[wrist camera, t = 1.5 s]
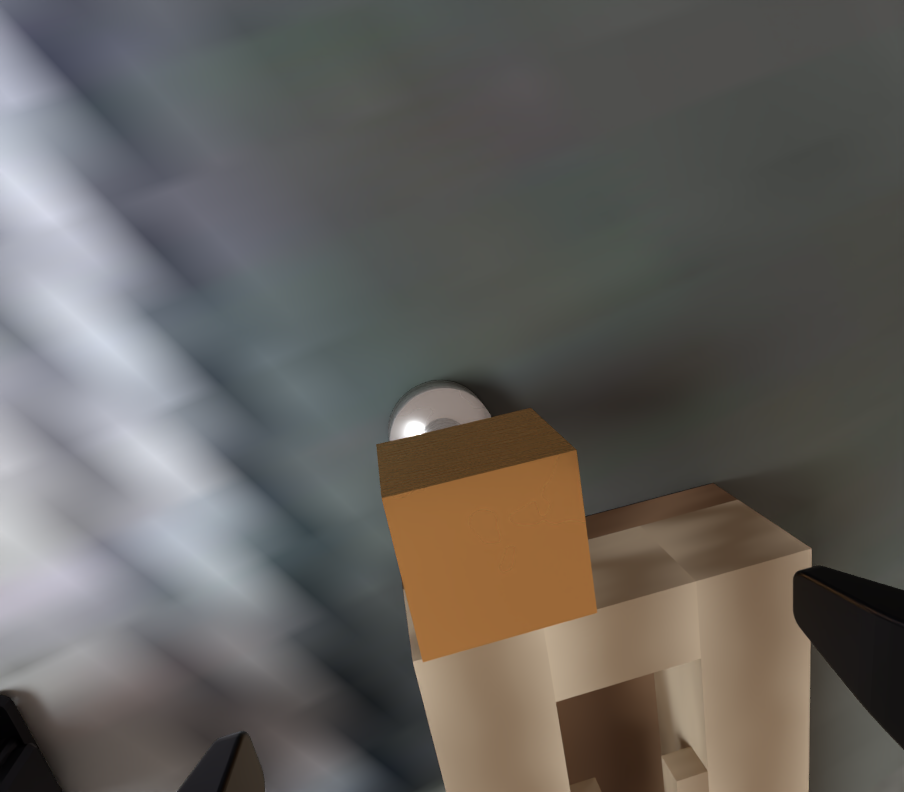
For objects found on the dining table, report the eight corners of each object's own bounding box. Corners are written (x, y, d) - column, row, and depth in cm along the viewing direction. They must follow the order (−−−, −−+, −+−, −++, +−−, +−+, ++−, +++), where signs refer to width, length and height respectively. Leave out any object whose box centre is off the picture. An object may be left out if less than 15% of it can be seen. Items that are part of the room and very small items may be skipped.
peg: (395, 492, 20) (422, 662, 12) (370, 389, 19) (381, 498, 10) (501, 466, 20) (597, 612, 12) (483, 363, 19) (576, 449, 11)
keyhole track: (486, 913, 26) (515, 1059, 22) (399, 565, 21) (412, 661, 16) (729, 830, 28) (806, 950, 23) (712, 483, 22) (811, 548, 17)
